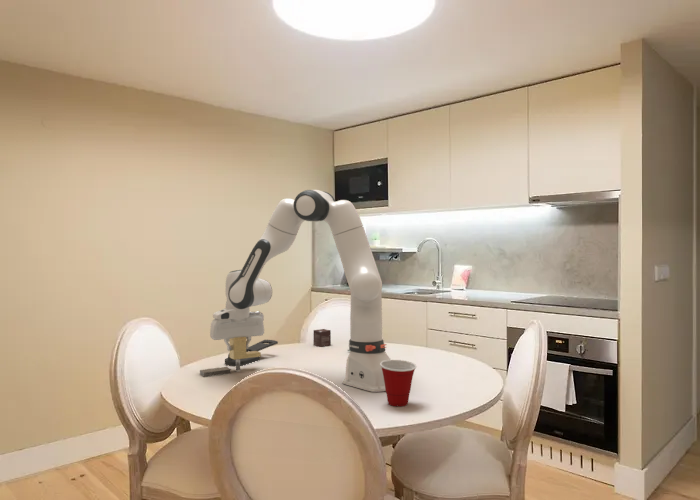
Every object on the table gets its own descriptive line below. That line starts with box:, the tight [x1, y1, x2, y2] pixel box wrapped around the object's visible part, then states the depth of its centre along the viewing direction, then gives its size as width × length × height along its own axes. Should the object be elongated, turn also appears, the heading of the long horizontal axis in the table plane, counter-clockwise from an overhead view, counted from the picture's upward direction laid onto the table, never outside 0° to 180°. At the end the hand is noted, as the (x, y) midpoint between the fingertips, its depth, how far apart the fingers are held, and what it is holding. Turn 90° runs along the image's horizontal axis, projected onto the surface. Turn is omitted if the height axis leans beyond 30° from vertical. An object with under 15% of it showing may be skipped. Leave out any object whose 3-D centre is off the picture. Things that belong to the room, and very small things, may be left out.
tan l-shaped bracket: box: [229, 337, 262, 360], centre depth 200 cm, size 11×5×8 cm, turn 121°
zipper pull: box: [224, 339, 279, 367], centre depth 218 cm, size 9×7×25 cm
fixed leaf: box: [199, 359, 242, 378], centre depth 195 cm, size 5×15×7 cm, turn 121°
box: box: [312, 328, 332, 348], centre depth 249 cm, size 6×6×7 cm
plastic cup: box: [380, 359, 418, 407], centre depth 156 cm, size 11×11×12 cm
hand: (237, 349), depth 199 cm, fingers closed on tan l-shaped bracket, 5 cm apart
